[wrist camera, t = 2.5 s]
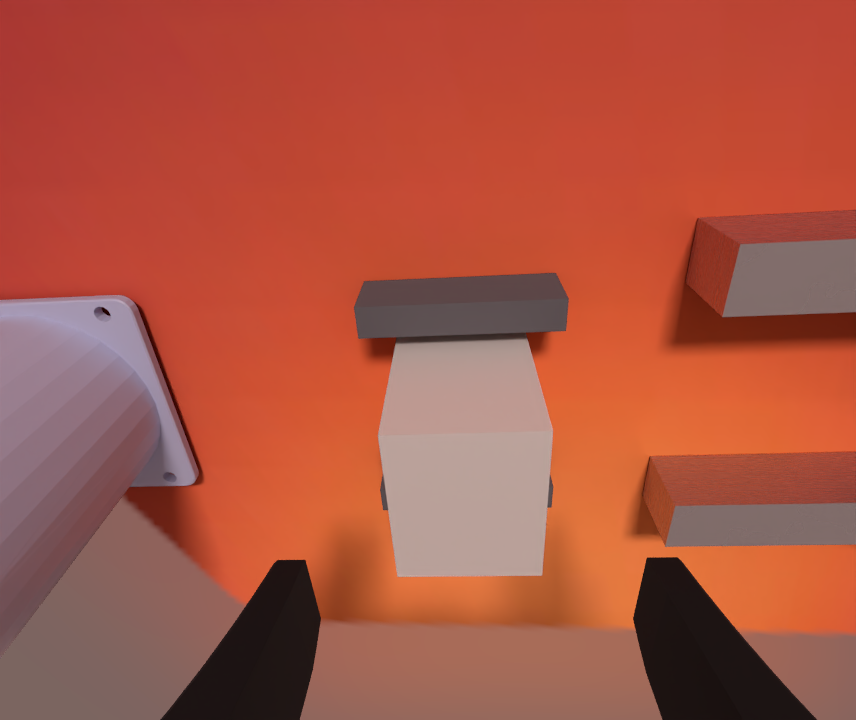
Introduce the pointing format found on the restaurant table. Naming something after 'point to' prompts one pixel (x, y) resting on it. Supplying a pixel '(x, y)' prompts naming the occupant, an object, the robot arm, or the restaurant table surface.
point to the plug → (466, 456)
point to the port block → (764, 473)
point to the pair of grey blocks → (461, 310)
